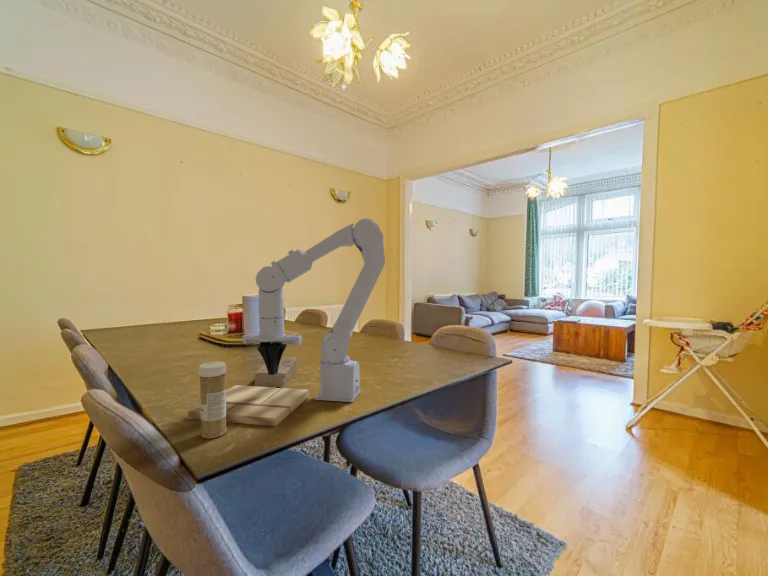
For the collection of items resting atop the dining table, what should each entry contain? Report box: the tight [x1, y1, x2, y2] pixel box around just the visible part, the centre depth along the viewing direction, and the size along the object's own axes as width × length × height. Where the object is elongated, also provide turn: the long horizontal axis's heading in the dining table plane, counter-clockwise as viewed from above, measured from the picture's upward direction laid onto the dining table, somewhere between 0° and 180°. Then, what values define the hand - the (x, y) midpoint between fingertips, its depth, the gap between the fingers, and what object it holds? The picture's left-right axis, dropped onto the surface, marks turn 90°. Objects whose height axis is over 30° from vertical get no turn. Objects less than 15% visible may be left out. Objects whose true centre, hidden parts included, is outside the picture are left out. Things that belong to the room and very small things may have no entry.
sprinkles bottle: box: [198, 360, 228, 439], centre depth 65 cm, size 5×5×14 cm
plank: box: [226, 384, 310, 414], centre depth 81 cm, size 20×10×2 cm, turn 79°
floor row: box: [187, 402, 291, 427], centre depth 73 cm, size 20×6×2 cm, turn 79°
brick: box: [254, 356, 298, 388], centre depth 100 cm, size 17×8×5 cm, turn 3°
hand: (273, 373), depth 83 cm, fingers closed
